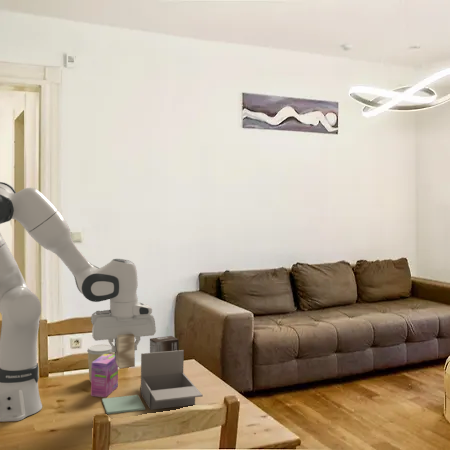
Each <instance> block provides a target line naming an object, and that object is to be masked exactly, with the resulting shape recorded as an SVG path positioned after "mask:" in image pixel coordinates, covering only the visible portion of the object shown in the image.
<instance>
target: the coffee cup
mask: <svg viewBox="0 0 450 450" xmlns="http://www.w3.org/2000/svg"><path fill="white" fill-rule="evenodd" d="M103 354H113V355H114V353H112V346H111V345H110V344H94V345H91V346H88V348H87V362H88V363H87V364H88V365H87V366H88V375H89V381H90V383H91V366H92V362H93V361H95V360H96V359H97V358H99V357H100V356H102V355H103Z"/></svg>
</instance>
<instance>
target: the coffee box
mask: <svg viewBox="0 0 450 450" xmlns="http://www.w3.org/2000/svg"><path fill="white" fill-rule="evenodd" d="M179 342H180V340H179V338H177V337H175V336H173V335H169V336H160V337H152V338H151V337H149V353H155V352H167V351H179V350H180V349H179V346H180V345H179Z"/></svg>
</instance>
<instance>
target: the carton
mask: <svg viewBox="0 0 450 450" xmlns="http://www.w3.org/2000/svg"><path fill="white" fill-rule="evenodd" d="M184 351H185V350H184V349H181V350H180V349H179V351H167V352H155V353H150V352H146V353H140V395H141V396H142V399H143V400H144V402H145V403H146V406H147V407H148V408H149V411H152V410H159V409H160V410H161V409H165V408H166V409H167V408H175V407H176V408H177V407H185V406H193V405H196V398H202V397H203V394H202V393H201V392H200V390H199V389H198V388H197V386H195V384H194V383H193V382H192V381H191V380H190V379H189V378H188V376H187V375H186V374H185V373H184V361H185V359H184V354H185V353H184Z"/></svg>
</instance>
